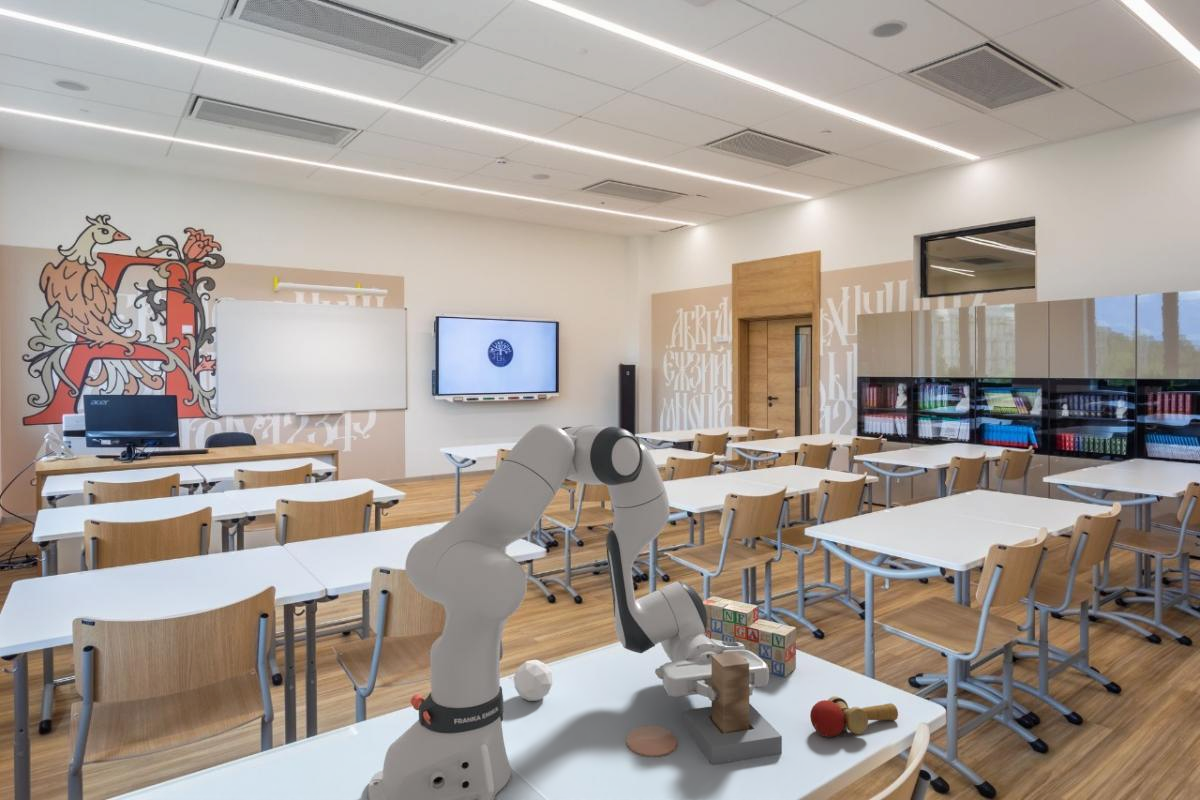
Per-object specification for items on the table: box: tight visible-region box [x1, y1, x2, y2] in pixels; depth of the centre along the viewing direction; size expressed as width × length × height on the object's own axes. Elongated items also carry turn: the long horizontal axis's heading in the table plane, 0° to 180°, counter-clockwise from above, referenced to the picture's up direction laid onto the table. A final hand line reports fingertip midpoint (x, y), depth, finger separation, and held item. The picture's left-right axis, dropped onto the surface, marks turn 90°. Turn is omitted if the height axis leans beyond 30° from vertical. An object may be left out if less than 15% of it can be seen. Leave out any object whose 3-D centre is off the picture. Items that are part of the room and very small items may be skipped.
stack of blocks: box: [702, 596, 797, 678], centre depth 156 cm, size 21×6×12 cm, turn 51°
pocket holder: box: [683, 702, 783, 765], centre depth 122 cm, size 13×13×3 cm
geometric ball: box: [513, 659, 553, 702], centre depth 139 cm, size 8×8×8 cm
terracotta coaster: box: [626, 725, 678, 758], centre depth 122 cm, size 9×9×1 cm
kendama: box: [809, 695, 899, 738], centre depth 126 cm, size 8×6×18 cm
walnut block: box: [711, 652, 750, 734], centre depth 122 cm, size 5×5×14 cm
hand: (732, 694), depth 121 cm, fingers closed on walnut block, 5 cm apart
